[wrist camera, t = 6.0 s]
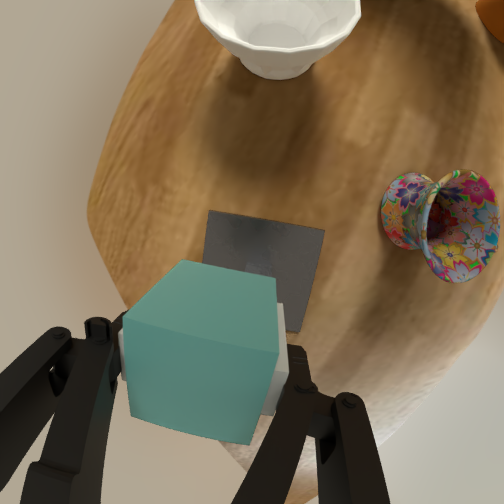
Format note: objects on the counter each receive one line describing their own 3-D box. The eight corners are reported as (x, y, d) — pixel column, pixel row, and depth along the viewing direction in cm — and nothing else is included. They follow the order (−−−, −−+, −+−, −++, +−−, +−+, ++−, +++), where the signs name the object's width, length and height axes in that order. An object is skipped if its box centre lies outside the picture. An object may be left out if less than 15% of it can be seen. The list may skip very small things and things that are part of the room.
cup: (195, 57, 24) (160, 8, 14) (267, -7, 21) (265, -66, 11) (285, 120, 26) (294, 86, 15) (355, 48, 23) (390, 0, 12)
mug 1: (362, 235, 28) (405, 265, 18) (389, 155, 26) (442, 148, 16) (441, 267, 29) (492, 301, 18) (464, 197, 26) (523, 210, 16)
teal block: (182, 259, 16) (122, 316, 9) (275, 278, 16) (279, 352, 9) (174, 337, 18) (131, 416, 10) (257, 355, 18) (249, 445, 10)
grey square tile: (209, 210, 29) (193, 219, 23) (323, 230, 29) (337, 244, 22) (198, 312, 32) (182, 342, 26) (299, 329, 32) (304, 363, 25)
